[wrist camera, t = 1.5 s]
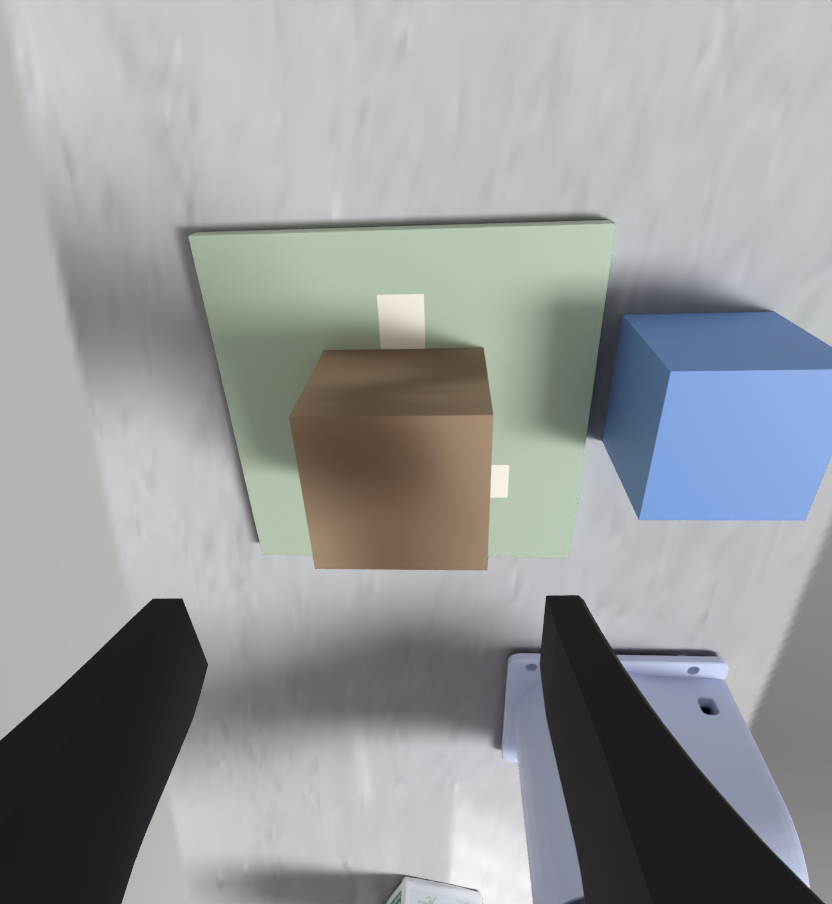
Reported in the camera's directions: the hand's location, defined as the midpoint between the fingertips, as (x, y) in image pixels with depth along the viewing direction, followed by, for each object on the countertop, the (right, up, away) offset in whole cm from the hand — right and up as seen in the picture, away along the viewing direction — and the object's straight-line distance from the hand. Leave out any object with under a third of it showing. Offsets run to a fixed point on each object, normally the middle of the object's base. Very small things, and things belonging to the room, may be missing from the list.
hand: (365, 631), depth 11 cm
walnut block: (+1, +5, +8) cm, 9 cm away
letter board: (+1, +5, +8) cm, 10 cm away
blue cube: (+10, +6, +7) cm, 13 cm away
